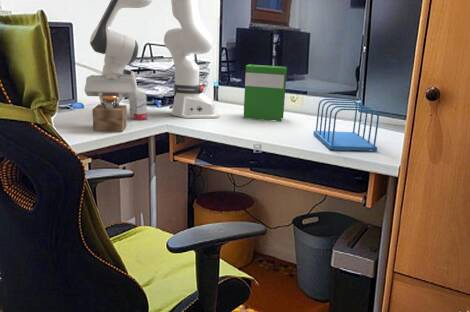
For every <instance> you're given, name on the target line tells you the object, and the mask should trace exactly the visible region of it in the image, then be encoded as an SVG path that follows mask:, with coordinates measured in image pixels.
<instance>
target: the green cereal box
mask: <svg viewBox="0 0 470 312" xmlns="http://www.w3.org/2000/svg"><path fill="white" fill-rule="evenodd" d="M287 70H288V67H287V66H278V65H277V66H276V65H275V66H274V65H262V64H261V65H259V64H247V65H245V76H244V77H245V78H244V79H245V81H244V97H243V98H244V99H243V100H244V101H243V117H242V118H243V119H249V118H251V119H252V120H260V119H264V120H265V121H271V120H276V121H275V122H282V119H281V118H283V119H284V114H285V113H284V112H285V99H286V98H285V97H286V96H285V95H286V86H287V85H286V84H287ZM251 119H250V120H251ZM264 120H263V121H264Z"/></svg>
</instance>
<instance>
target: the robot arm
mask: <svg viewBox="0 0 470 312" xmlns="http://www.w3.org/2000/svg"><path fill="white" fill-rule="evenodd" d="M170 1H171V2H170V3H171V10H172V15H173V17H174V18H175V20H177V21H178V23H179V25H180V27H176V28H171V29H168V30H167V31H166V32H165V33H164V37H163V43H164V46H165V48H167V51H169V53H170V55H171V58H172V61H173V64H174V65H173V66H174V84H173V96H174V99H173V105H172V108H171V109H172V110H171V113H170V114H171V115H172V116H175V117H181V118H182V119H217V118H219V117H220V112H219V111H217V110H216V106H215V103H214V101H213V100H212V99H211V98H210V97H209V96H207V95H206V94H205V93H204V91H205V87H204V86H203V85H201V84H200V66H199V65H198V64H197V63H196V62H195V61H194V60H195V59H194V57H193V55H203V54H207V53H209V52H210V51H211V49H212V48H213V47H212V46H213V37H212V35H211V33H210V32H209V31H208V30H207V29H206V28H205V26H204V24H203V23H202V20H201V17H200V14H199V11H198V10H199V9H198V0H170ZM152 2H153V0H110V2H109V4H108V5H107V7H106V9H105V11H104V13H103V15H102V16H101V19H100V21H99V23H98V25H97V26H96V28H95V29H94V30H93V32H92V33H91V36H90V37H89V38H90V39H89V44H90V46H91V48H92V50H93V51H94V52H95V53H98V54H101V55H104V59H103V60H104V61H103V63H104V65H103V67H102V72H101V74H100V75H99V74H96V75H95V74H90V75H88V76H87V77H85V78H86V79H85V85H84V92H85V95H86V97H98V99H99V100H100V104H101V105H105V100H103V97H102V96H103V95H108V94H111V95H117V100H114V105H120V103H121V101H122V100H123V99H124V98H129V97H132V98H135V97H136V96H137V95H138V90H139V89H138V84H137V78H136V74H135V72H134V71H133V70H130V69H126V66H129V65H130V64H133V63H134V62H135V61H136V59H137V58H138V54H139V44H138V42H137V41H136V39H134V38H132V37H130V36H127V35H125V34H122V33H119V32H117V31H115V30H112V29H111V26H112V24H113V22H114V20H115V18H116V16H117V14H118V12H119V11H120V10H121V9H123V8H124V9H126V8H127V9H128V8H130V9H142V8H145V7H148V6H149V5H150V4H152Z"/></svg>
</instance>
